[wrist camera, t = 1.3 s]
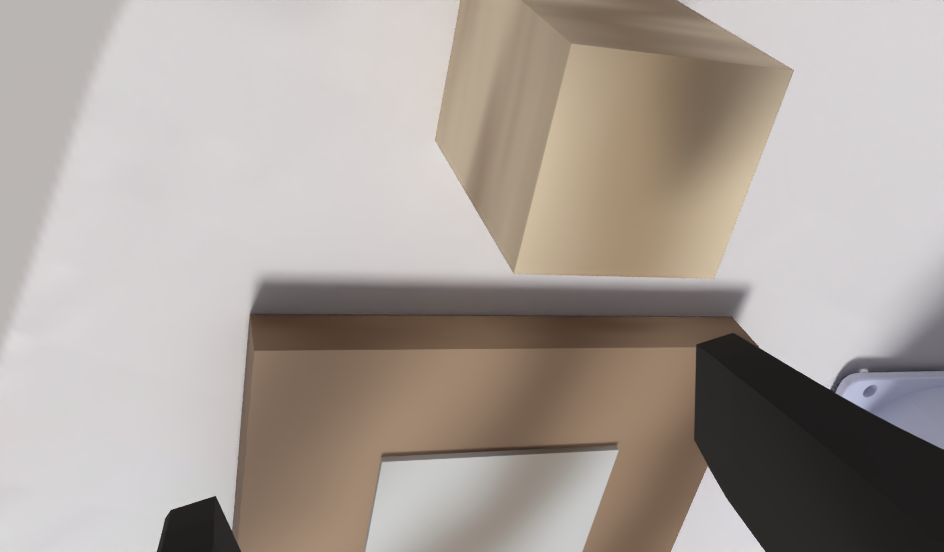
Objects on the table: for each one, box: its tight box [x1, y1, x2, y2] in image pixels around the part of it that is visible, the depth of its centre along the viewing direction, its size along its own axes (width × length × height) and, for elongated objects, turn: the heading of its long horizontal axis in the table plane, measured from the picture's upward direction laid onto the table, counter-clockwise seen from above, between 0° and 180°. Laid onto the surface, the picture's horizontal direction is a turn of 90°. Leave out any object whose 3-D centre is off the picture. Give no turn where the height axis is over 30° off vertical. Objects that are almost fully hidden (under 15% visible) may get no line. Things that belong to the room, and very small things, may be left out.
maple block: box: [435, 0, 794, 279], centre depth 18 cm, size 4×4×6 cm
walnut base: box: [232, 315, 759, 552], centre depth 27 cm, size 14×14×2 cm
